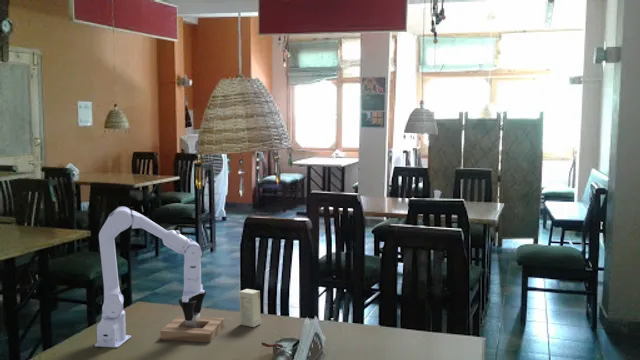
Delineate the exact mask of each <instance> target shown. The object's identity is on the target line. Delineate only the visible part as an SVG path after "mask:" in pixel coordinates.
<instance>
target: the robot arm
mask: <svg viewBox="0 0 640 360" xmlns="http://www.w3.org/2000/svg"><path fill="white" fill-rule="evenodd" d="M130 227H131V229H143V230H145V231H146V232H148V233H150V234H152V235H153V236H155V237H158V238H159V239H161V240H162V243H163V245H164V246H165V247H167V248H169V249H171V250H172V251H174V252H176V253H177V254H180V255H183V257H184V258H183V259H184V263H183V291H182V296H181V298H180V299H179V300H178V305H179V306H180V308H181V309H182V312H183V316H185V320H187V321H192V319H193V312H198V313H200V314H201V311H202V305H203V302H204V300H205V297H206V295H207V291H206V290H205V289H204V284H202V264H201V260H202V259H201V258H202V256H203V251H202V248H201V246H200V245H199V243H198V242H197V241H195V240H193V239H192V238H190V237H189V238H188V237H186V236H184V235H182V234H181V231H180V230H178V229H176V230H174V229H170V230H167V229H165V228H163V226H160V225H159V224H158V223H156V222H154V221H152V220H151V219H150V218H148V217H147V216H145V215H143V214H141V213H140V212H138V211H135V210H132V209H130V208H129V207H127V206H118V207H117V208H116V209H114V210H113V211H112V212H111V213H109V215H108V217H107V218H106V220H105V222H104V224H103V225H102V227H101V229H100V230H99V233H98V241H99V242H98V243H99V250H100V260H101V261H100V262H101V271H102V280H103V304H102V307H101V311H102V312H101V320H100V322H99V323H97V326H96V339H97V340H96V341H97V342H96V343H95V344H94V347H101V348H119V347H120V346H122V345H123V344H124V343H125V342H126V341H128V340H129V339H131V338H132V335H128V334H126V333H127V330H126V329H127V327H126V311H125V310H124V301H125V299H124V298H125V297H124V295H123V294H122V293H121V288H120V282H119V281H120V280H119V272H118V262H117V251H116V243H115V238H116V237H117V236H118V235H119V234H120V233H121V232H124V231H126V230H127V229H129V228H130Z"/></svg>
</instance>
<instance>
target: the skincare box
mask: <svg viewBox="0 0 640 360" xmlns="http://www.w3.org/2000/svg"><path fill="white" fill-rule="evenodd" d="M260 292H261V291H260V290H256V289H252V288H251V289H250V288H245V289H243V290H240V291H239V314H240V315H239V318H240V319H239V320H240V325H241V326H247V327H252V328H255V327H256V326H259V325H261V324H262V319H261V318H262V317H261V315H262V314H261V293H260Z"/></svg>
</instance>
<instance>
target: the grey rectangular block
mask: <svg viewBox="0 0 640 360" xmlns="http://www.w3.org/2000/svg"><path fill="white" fill-rule="evenodd" d="M200 317H201V312H200V313H198V312H193V319H192V321H187V320H185V328H200Z"/></svg>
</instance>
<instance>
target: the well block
mask: <svg viewBox="0 0 640 360" xmlns="http://www.w3.org/2000/svg"><path fill="white" fill-rule="evenodd" d="M224 327H225V317H212V316H211V317H210V316H200V328H185V316H184V315H177V316H176V317H175V318H174V319H172V320H171V321H170V322H169V323H168V324H166V325H165V326H163V328H162V329H161V330H160V340H163V341H175V342H176V341H178V342H193V343H194V342H195V343H196V342H197V343H212V341H213V340H214V339H215V337H216V336H217V335H219V334H220V332H221V331H222V330H223V329H224Z"/></svg>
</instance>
